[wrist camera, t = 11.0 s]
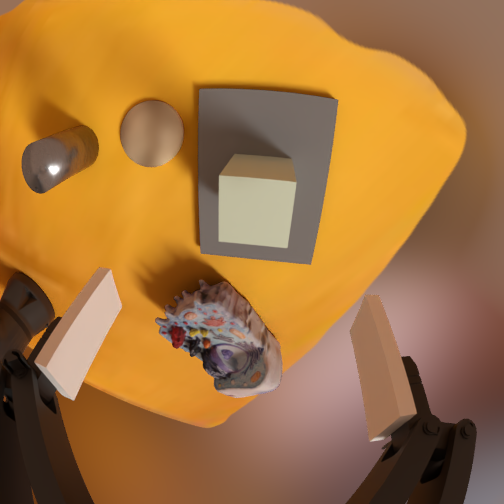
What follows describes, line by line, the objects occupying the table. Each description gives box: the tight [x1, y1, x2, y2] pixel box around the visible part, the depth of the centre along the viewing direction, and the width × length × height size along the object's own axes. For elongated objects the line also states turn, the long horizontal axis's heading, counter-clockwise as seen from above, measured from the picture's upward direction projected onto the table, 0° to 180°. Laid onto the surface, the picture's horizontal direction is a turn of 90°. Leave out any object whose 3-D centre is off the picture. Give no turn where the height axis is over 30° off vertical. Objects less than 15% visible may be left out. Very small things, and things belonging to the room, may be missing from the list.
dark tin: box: [22, 126, 99, 193], centre depth 25 cm, size 6×6×9 cm
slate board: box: [198, 89, 338, 265], centre depth 29 cm, size 14×20×1 cm
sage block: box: [219, 154, 297, 248], centre depth 25 cm, size 6×6×8 cm
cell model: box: [155, 280, 282, 398], centre depth 38 cm, size 13×11×20 cm
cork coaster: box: [120, 100, 184, 167], centre depth 27 cm, size 8×8×1 cm
